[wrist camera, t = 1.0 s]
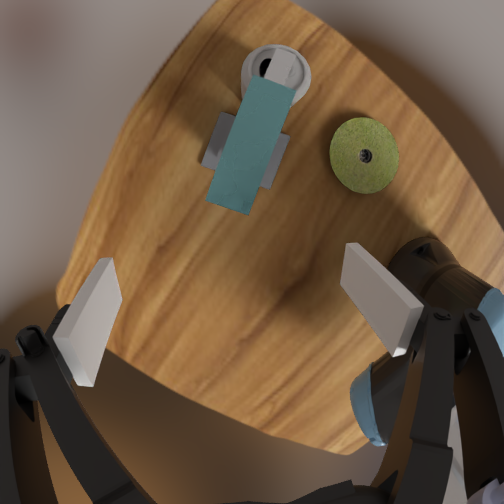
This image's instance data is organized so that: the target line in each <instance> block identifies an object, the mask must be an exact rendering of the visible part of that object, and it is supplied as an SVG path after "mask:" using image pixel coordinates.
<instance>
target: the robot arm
mask: <svg viewBox="0 0 504 504" xmlns="http://www.w3.org/2000/svg"><path fill="white" fill-rule="evenodd" d="M340 285H341V286H342V288H343V289H344V290H345V292H346V293H347V294H348V296H349V297H350V298H351V300H352V301H353V303H354V304H355V305H356V307H357V308H358V309H359V311H360V312H361V313H362V315H363V316H364V317H365V319H366V320H367V322H368V323H369V324H370V326H371V327H372V329H373V330H374V331H375V333H376V334H377V336H378V337H379V338H380V340H381V341H382V343H383V344H384V345H385V347H386V348H387V350H388V352H386V353H385V354H384V355H383V356H382V357H380V358H379V359H378V360H377V361H375V362H372V363H371V364H370V365H369V367H368V368H367V369H366V370H364V371H363V372H362V373H361V374H360V375H359V376H357V377H356V378H355V379H354V381H353V382H352V384H351V387H350V400H351V405H352V409H353V412H354V415H355V417H356V420H357V422H358V424H359V426H360V428H361V430H362V431H363V433H364V435H365V436H366V437H367V438H369V440H370V442H371V443H372V444H374V445H375V446H384V445H386V444H387V443H388V447H387V450H386V453H385V455H384V458H383V461H382V464H381V466H380V469H379V471H378V473H377V475H376V477H375V478H374V480H373V481H372V483H371V485H370V486H364V485H363V486H362V485H353V484H352V481H351V480H348V481H345V482H341V483H338V484H335V485H331V486H327V487H323V488H320V489H318V490H316V491H314V492H311V493H309V494H307V495H305V496H303V497H301V498H299V499H296V500H294V501H292V502H289V503H284V504H504V295H503V294H502V293H501V292H500V290H499V289H497V288H494V287H493V286H491V285H490V284H488V283H487V282H485V281H483V280H482V279H480V278H479V277H477V276H476V275H474V274H473V273H471V272H469V271H468V270H466V269H465V268H463V267H461V266H460V264H459V263H458V261H457V260H456V258H455V257H454V255H453V254H452V252H451V251H450V250H449V248H448V247H447V246H446V245H444V244H443V243H441V242H439V241H438V240H436V239H433V238H429V237H422V238H418V239H415V240H413V241H411V242H409V243H407V244H406V245H405V246H403V247H402V248H401V249H400V250H399V251H398V252H397V254H396V255H395V256H394V258H393V259H392V261H391V263H390V264H389V267H388V269H386V268H385V267H384V266H383V265H382V264H380V263H379V262H378V261H377V260H376V259H375V258H374V257H373V256H372V255H371V254H370V253H368V252H367V251H366V250H365V249H364V248H363V247H362V246H361V245H360V244H358V243H346V248H345V255H344V261H343V268H342V274H341V280H340ZM121 302H122V296H121V292H120V288H119V284H118V280H117V276H116V272H115V267H114V263H113V258H100V259H99V261H98V262H97V264H96V265H95V267H94V268H93V270H92V271H91V273H90V274H89V276H88V277H87V279H86V281H85V282H84V284H83V285H82V287H81V289H80V290H79V292H78V293H77V295H76V297H75V298H74V300H73V302H72V303H71V304H66V305H65V306H63V307H62V308H61V309H60V310H59V311H58V313H57V314H56V316H55V319H53V321H52V323H51V324H50V326H49V328H48V330H47V331H46V333H45V335H44V333H43V331H42V329H41V328H40V327H39V326H37V325H30V326H27V327H25V328H23V329H22V330H20V332H19V333H18V334H17V336H16V339H15V341H16V344H17V346H18V347H19V349H20V351H21V353H22V355H21V356H16V357H12V355H11V354H10V352H9V351H8V350H7V349H0V504H58V501H57V498H56V494H55V491H54V487H53V484H52V480H51V477H50V472H49V468H48V464H47V460H46V455H45V450H44V445H43V440H42V433H41V427H40V420H39V412H38V403H37V400H39V402H40V405H41V407H42V410H43V412H44V415H45V417H46V419H47V422H48V424H49V426H50V428H51V430H52V433H53V435H54V437H55V439H56V441H57V443H58V445H59V447H60V449H61V451H62V452H63V454H64V456H65V458H66V460H67V462H68V463H69V465H70V467H71V469H72V470H73V472H74V474H75V476H76V477H77V479H78V480H79V482H80V484H81V485H82V487H83V488H84V490H85V491H86V493H87V494H88V496H89V497H90V499H91V501H92V502H93V504H157V503H156V502H155V501H154V500H153V499H152V498H151V496H150V495H149V494H148V493H147V492H146V491H145V490H144V489H143V488H142V486H141V485H140V484H139V483H138V482H137V481H136V479H135V478H134V477H133V476H132V475H131V473H130V472H129V471H128V470H127V469H126V467H125V466H124V465H123V464H122V462H121V461H120V460H119V458H118V457H117V456H116V454H115V453H114V452H113V450H112V449H111V447H110V446H109V445H108V443H107V442H106V440H105V439H104V437H103V436H102V435H101V433H100V432H99V430H98V429H97V427H96V426H95V424H94V422H93V421H92V419H91V418H90V416H89V415H88V413H87V411H86V410H85V408H84V407H83V405H82V403H81V401H80V399H79V398H78V396H77V394H76V392H75V391H74V389H73V387H72V385H71V384H70V383H71V380H72V377H73V378H74V379H75V381H76V383H77V385H79V386H90V387H93V385H94V382H95V378H96V375H97V372H98V368H99V365H100V362H101V359H102V356H103V353H104V350H105V347H106V344H107V341H108V338H109V335H110V332H111V329H112V327H113V324H114V321H115V318H116V316H117V313H118V310H119V308H120V305H121ZM223 504H281V503H263V502H251V501H247V502H236V503H223ZM282 504H283V503H282Z"/></svg>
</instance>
